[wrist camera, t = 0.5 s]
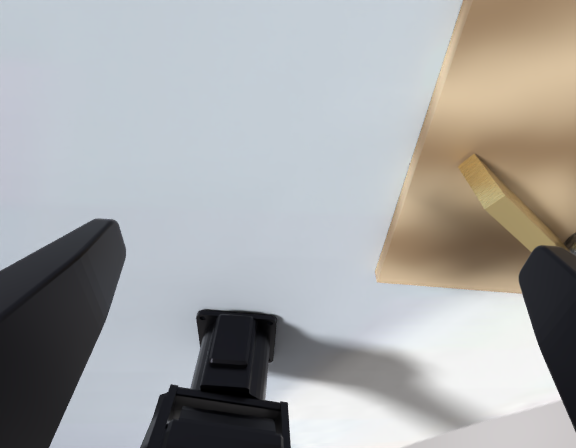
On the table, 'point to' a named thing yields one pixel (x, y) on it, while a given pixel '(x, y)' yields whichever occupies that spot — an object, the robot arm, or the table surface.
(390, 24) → the table surface
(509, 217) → the olive tan bar
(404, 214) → the oak board
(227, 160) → the table surface
